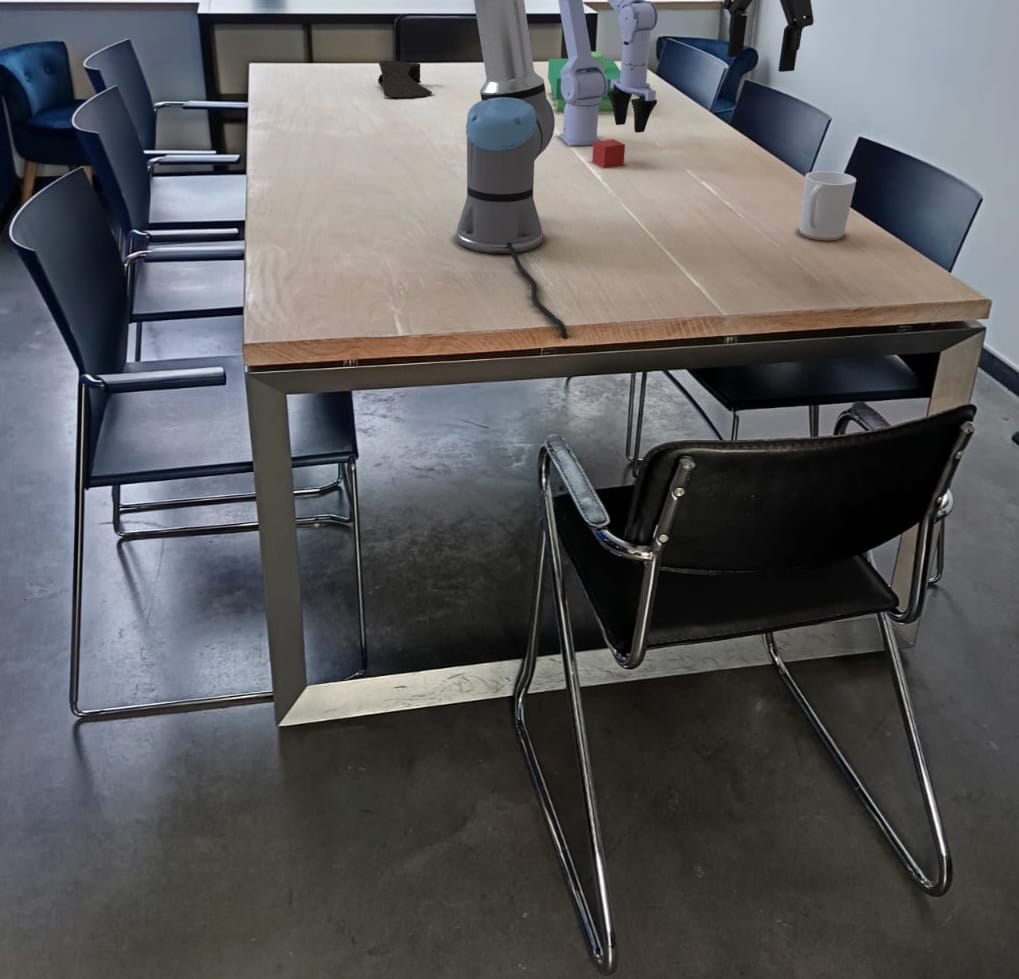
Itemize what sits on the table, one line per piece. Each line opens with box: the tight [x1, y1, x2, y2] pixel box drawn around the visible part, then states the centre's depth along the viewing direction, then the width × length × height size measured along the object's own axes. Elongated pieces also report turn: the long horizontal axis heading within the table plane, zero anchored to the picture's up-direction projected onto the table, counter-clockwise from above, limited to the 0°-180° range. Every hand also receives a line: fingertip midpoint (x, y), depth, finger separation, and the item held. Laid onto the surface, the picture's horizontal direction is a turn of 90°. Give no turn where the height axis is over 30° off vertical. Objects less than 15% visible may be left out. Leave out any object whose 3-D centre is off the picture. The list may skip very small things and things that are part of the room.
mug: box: [798, 170, 857, 241], centre depth 199 cm, size 11×9×10 cm
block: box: [591, 138, 626, 169], centre depth 240 cm, size 5×5×4 cm
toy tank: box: [547, 51, 621, 112], centre depth 293 cm, size 18×12×35 cm
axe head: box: [377, 59, 433, 99], centre depth 299 cm, size 18×8×15 cm
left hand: (759, 63), depth 184 cm, fingers open, 13 cm apart
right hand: (629, 128), depth 242 cm, fingers open, 7 cm apart
